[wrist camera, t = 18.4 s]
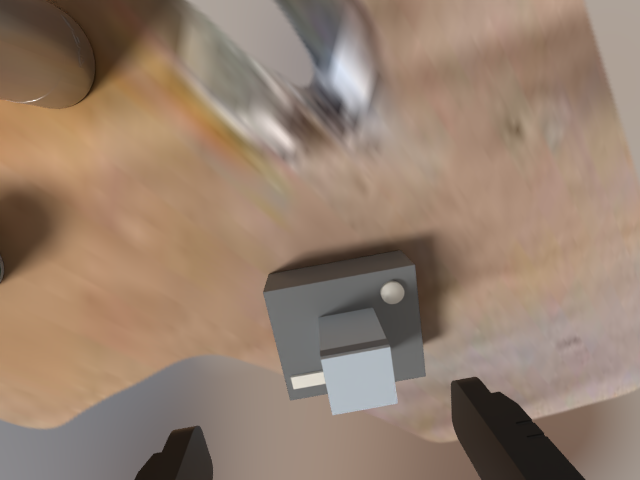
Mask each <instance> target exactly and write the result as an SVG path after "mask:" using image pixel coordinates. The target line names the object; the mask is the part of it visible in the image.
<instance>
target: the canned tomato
mask: <svg viewBox="0 0 640 480" xmlns="http://www.w3.org/2000/svg"><path fill="white" fill-rule="evenodd" d="M3 275H4V264H3V260H2V258H1V255H0V282H1V281H2V278H3Z"/></svg>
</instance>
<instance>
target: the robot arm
mask: <svg viewBox="0 0 640 480" xmlns="http://www.w3.org/2000/svg"><path fill="white" fill-rule="evenodd" d="M94 75H95V59H94V55H93V51H92V47H91V45H90V43H89V41H88V38H87V36H86V35H85V33H84V32H83V30H82V29H81V27H80V26H79V25H78V24H77V23H76V22H75V21H74V20H73V19H72V17H70V16H69V15H68V14H66V13H65V12H64V11H62V10H61V9H59V8H57V7H56V6H54V5H52V4H51V3H49V2H47V1H46V0H0V99H2V100H7V101H12V102H17V103H23V104H28V105H34V106H40V107H45V108H55V109H60V108H66V107H70V106H72V105H74V104H76V103H78V102H79V101H80V100H82V99H83V98H84V97H85V96H86V94H87V93H88V92H89V90H90V88H91V86H92V83H93V81H94ZM451 406H452V422H453V427H454V430H455V433H456V435H457V437H458V440H459V441H460V443H461V445H462V447H463V448H464V450H465V452H466V454H467V455H468V457H469V459H470V461H471V462H472V464H473V466H474V468H475V469H476V471H477V473H478V475H479V476H480V478H481V480H585V479H584V478H583V476H582V475H581V474H580V473H579V472H578V471H577V470H576V469H575V467H574V466H573V465H572V464H571V463H570V462H569V461H568V460H567V459H566V457H565V456H564V455H563V454H562V453H561V452H560V451H559V450H558V449H557V447H556V446H555V445H554V444H553V443H552V442H551V441H550V439H549V438H548V437H545V435H544V433H543V432H542V430H541V429H540V428H539V427H538V426H537V425H536V424H535V423H533V422H532V419H531V418H530V417H529V416H528V415H527V414H526V412H525V411H524V410H523V409H522V408H521V407H520V406H519V405H518V404H517V403H516V402H514V401H513V400H511V399H510V398H508V397H507V396H505V395H504V394H502V393H501V392H495V393H491V392H490V391H489V390H488V389H487V388H486V386H485V385H484V384H483V383H482V381H481V380H480V379H479V378H477V377H471V378H466V379H460V380H455V381H452V383H451ZM212 479H213V465H212V460H211V457H210V454H209V451H208V448H207V445H206V441H205V438H204V435H203V432H202V429H201V427H200V426H194V427H188V428H183V429H178V430H173V431H172V432H171V434H170V435H169V437H168V440H167V442H166V444H165V446H164V449H163V451H162V452H161V453H155V454H153V455H152V456H151V458H150V459H149V460H148V461H147V462H146V464H145V465H144V466H143V467H142V468H141V470H140V471H139V472H138V474H137V476H136V478H135V480H212Z"/></svg>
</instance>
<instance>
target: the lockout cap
mask: <svg viewBox="0 0 640 480" xmlns="http://www.w3.org/2000/svg"><path fill="white" fill-rule="evenodd" d="M318 326H319V341H320V359H321V364H322V368H323V373H324V378H325V383H326V387H327V392H328V397H329V401H330V406H331V411H332V415H337V414H342V413H348V412H353V411H359V410H364V409H370V408H375V407H381V406H386V405H392V404H397V403H398V402H397V394H396V387H395V379H394V372H393V365H392V357H391V350H390V344H389V342H388V339H387V338H386V336H385V334H384V332H383V330H382V327H381V325H380V323H379V320H378V318H377V316H376V313H375V311H374V309H373V308H367V309H362V310H356V311H351V312H345V313H340V314H335V315H329V316H324V317H318Z"/></svg>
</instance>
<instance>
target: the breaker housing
mask: <svg viewBox="0 0 640 480" xmlns="http://www.w3.org/2000/svg"><path fill="white" fill-rule="evenodd" d="M263 294H264V298H265V302H266V306H267V310H268V314H269V318H270V322H271V326H272V330H273V334H274V338H275V342H276V346H277V350H278V354H279V358H280V362H281V366H282V370H283V373H284V377H285V381H286V385H287V389H288V393H289V397H290V400H295V399H301V398H307V397H313V396H318V395H324V394H328V392H327V387H326V383H325V378H324V373H323V368H322V364H321V359H320V341H319V326H318V317H324V316H329V315H335V314H340V313H345V312H351V311H356V310H362V309H367V308H373V309H374V311H375V313H376V316H377V318H378V320H379V323H380V325H381V327H382V330H383V332H384V334H385V336H386V338H387V339H388V342H389V344H390V350H391V357H392V365H393V372H394V379H395V382H396V381H402V380H407V379H413V378H418V377H424V376H426V373H425V362H424V352H423V342H422V332H421V321H420V311H419V301H418V291H417V280H416V270H415V264H414V263H413V262H412V261H411V260H410V259H409V258H408V257H407V256H406V255H405V254H404V253H403V252H402V251H401V250H399V251H393V252H388V253H382V254H377V255H371V256H366V257H360V258H355V259H349V260H344V261H338V262H333V263H327V264H322V265H316V266H311V267H306V268H300V269H295V270H289V271H284V272H278V273H273V274H269V275H268V278H267V282H266V285H265V288H264V291H263Z"/></svg>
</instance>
